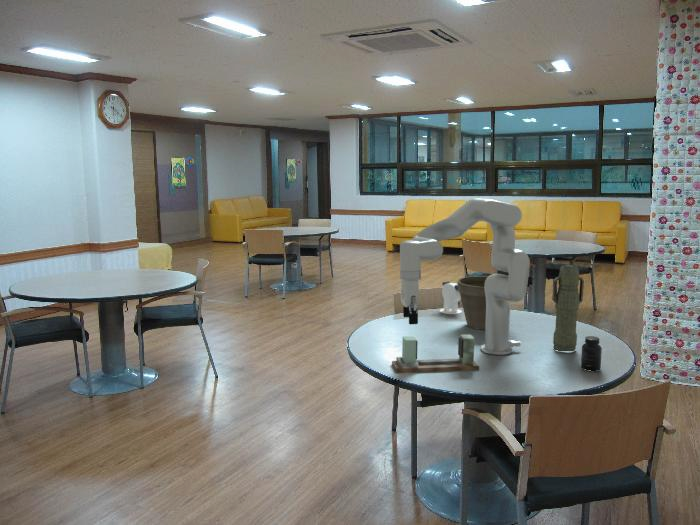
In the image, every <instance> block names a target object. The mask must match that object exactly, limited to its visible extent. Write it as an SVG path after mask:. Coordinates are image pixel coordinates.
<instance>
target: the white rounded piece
mask: <svg viewBox="0 0 700 525" xmlns="http://www.w3.org/2000/svg"><path fill="white" fill-rule="evenodd" d="M441 292H442V293H441V295H442V297H443V308H442V309H440V310H439V312H440V313H442V314H446V315H459V314H461V313H463V311H462V309H459V307H458V306H460V301H461V296H460V292H459V291H458V283H454V282H450V281H449V280H448V281H442V290H441Z"/></svg>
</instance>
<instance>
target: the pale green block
mask: <svg viewBox="0 0 700 525" xmlns="http://www.w3.org/2000/svg"><path fill="white" fill-rule="evenodd" d="M418 344H419V343H418V340H417V338H416V337H415V336H414V335H412V336H402V346H401V347H402V349H401V350H402V352H401V353H402V355H401V357H402V363H403V364H407V363H416V360H418Z"/></svg>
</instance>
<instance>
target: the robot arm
mask: <svg viewBox="0 0 700 525" xmlns="http://www.w3.org/2000/svg"><path fill="white" fill-rule="evenodd" d="M522 217H523V214H522V210H521V208H520V207H519V206H518V205H516V204H512V203H508V202H503V201H501V200H500V201H498V200H494V199H489V198H480V197H479V198H478V197H477V198H471V199H468V200H467V201H466V202H464V203H463V205H461V206H460V207H459V208H457V209H456V210H455V211H454V212H453V213H451V215H449V216H448V217H446V218H445V219H444V218H443V219H442V220H439V221H437V222H435V223H433V224H431V225H428V226H427V227H425V228H423V229H422V230H420V231H419V232H418V233H417V234H415V235H414V236H413V238H411V240H410V239H407V240H403V241H401V242H400V244H399V277H400V278H399V279H400V280H401V283H400V284H401V287H400V302H401V304H402V305H403V307H402V308H403V310H402V313H403V314H402V315H403V318H408V325H418V324H419V311H418V307H419V305H420V294H419V292H420V291H419V290H420V289H419V288H420V284H419V281H420V280H421V279H422V261H434V260H438V259H439V258H441V256H442V254H443V253H444V247H443V246H444V245H442V243H441V241H444V240H450V239H456V238H459V237H462V236H463V235H464V234H465V233H466V232H467V231H469V230H470V229H471V228H473V227H474V226H475V225H476V224H477V223H478V222H484V223H485V222H486V223H487V224H488V225H489V227H490V229H491V231H492V236H493V238H492V246H491V248H492V249H491V256H490V257H491V258H490V265H491V267H492V268H493V269H495V270H496V271H500V272H505V273H508V275H507V274H502V273H492V274H490V275H488V277H487V279H486V280H485V284H484V289H485V295H486V324H485V330H484V343H483V344H482V345H480V350H481V351H482V352H483V353H486V354H488V355H494V356H495V355H496V356H504V355H507V356H508V355H510V354H512V353H513V348H514V347H521V341H515V340H510V325H511V305H510V302H513V303H518V302H520V301H522V300H523V299H524V298H525V296H526V294H527V290H528V281H529V274H530V266H531V264H530V263H531V262H530V258H529V255H528V253H526V251H524V250H521V249H517V248H516V247H515V246H516V231H515V229H514V227H515V226H517V225H519V223H520V222H521V221H522Z"/></svg>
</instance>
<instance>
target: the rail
mask: <svg viewBox="0 0 700 525" xmlns="http://www.w3.org/2000/svg"><path fill="white" fill-rule="evenodd" d="M457 340H458V342H457V343H458V344H457V345H458V346H457V347H458V348H457V355H458V358H439V359H437V358H436V359H434V358H433V359H417V360H416V363H407V364H403V363H402V356H396V358H395V359H396V360H392V361H391V366H392V367H393V369H394V372H395V374H401V373H402V374H405V373H406V374H407V373H429V372H455V371H457V372H458V371H459V372H461V371H476V370H477V371H478V370H480V365H479V364H478V363H477V362H476V361H475V358H474V357H475V337H474V336H473V335H472V334H459V336H458V339H457Z"/></svg>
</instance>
